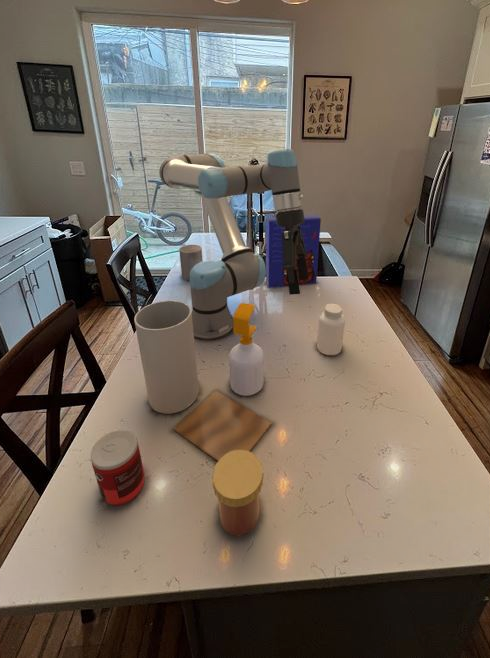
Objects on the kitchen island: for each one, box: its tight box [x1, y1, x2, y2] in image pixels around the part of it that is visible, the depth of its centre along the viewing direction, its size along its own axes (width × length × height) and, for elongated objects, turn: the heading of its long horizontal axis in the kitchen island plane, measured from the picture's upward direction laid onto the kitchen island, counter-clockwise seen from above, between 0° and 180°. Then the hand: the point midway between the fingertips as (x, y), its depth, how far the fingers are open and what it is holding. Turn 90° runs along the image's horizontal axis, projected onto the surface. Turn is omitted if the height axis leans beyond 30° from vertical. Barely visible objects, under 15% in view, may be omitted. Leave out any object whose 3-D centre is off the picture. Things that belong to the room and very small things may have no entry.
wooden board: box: [173, 390, 272, 463], centre depth 77 cm, size 18×14×1 cm
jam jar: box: [218, 493, 260, 537], centre depth 59 cm, size 7×7×11 cm
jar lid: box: [212, 450, 264, 507], centre depth 57 cm, size 9×9×2 cm
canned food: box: [90, 429, 146, 506], centre depth 63 cm, size 8×8×11 cm
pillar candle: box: [178, 244, 203, 281], centre depth 148 cm, size 10×10×15 cm
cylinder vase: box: [133, 299, 200, 415], centre depth 81 cm, size 12×12×25 cm
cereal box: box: [265, 214, 322, 289], centre depth 141 cm, size 22×6×30 cm, turn 104°
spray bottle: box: [228, 302, 265, 397], centre depth 86 cm, size 9×9×25 cm
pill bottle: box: [316, 303, 346, 356], centre depth 102 cm, size 8×8×15 cm
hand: (299, 286), depth 91 cm, fingers open, 13 cm apart
